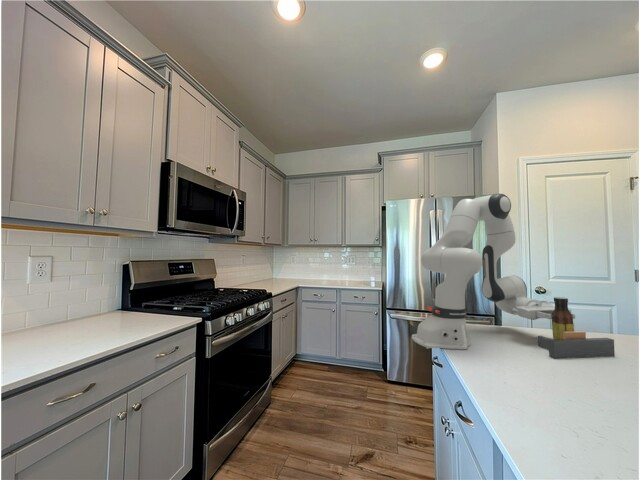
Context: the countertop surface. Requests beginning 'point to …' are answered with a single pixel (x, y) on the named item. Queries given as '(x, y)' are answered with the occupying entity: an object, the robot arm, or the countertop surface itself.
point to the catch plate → (574, 335)
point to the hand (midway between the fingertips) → (562, 316)
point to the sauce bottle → (561, 318)
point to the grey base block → (577, 347)
